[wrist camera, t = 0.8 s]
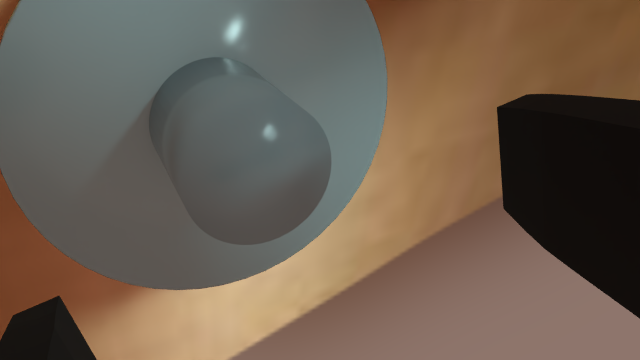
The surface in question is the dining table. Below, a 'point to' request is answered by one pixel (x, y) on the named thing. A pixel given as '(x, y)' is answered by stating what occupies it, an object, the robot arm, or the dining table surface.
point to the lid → (188, 129)
